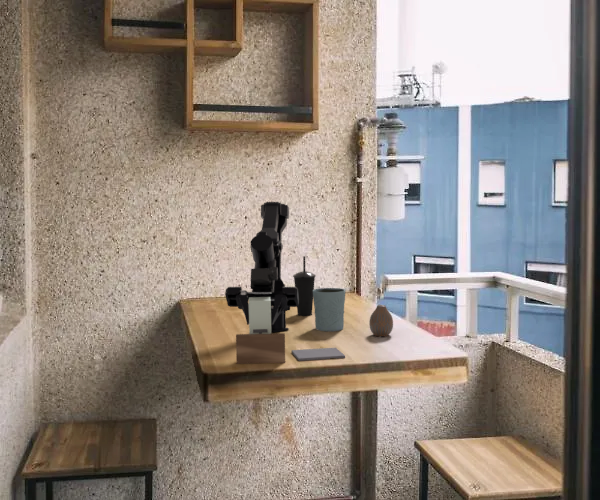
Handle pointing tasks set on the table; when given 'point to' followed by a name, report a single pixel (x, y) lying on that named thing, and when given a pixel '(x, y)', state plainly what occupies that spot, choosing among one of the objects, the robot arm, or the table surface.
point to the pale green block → (259, 315)
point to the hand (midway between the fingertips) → (259, 324)
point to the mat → (317, 354)
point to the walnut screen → (260, 348)
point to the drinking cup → (304, 290)
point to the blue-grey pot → (329, 308)
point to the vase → (381, 321)
